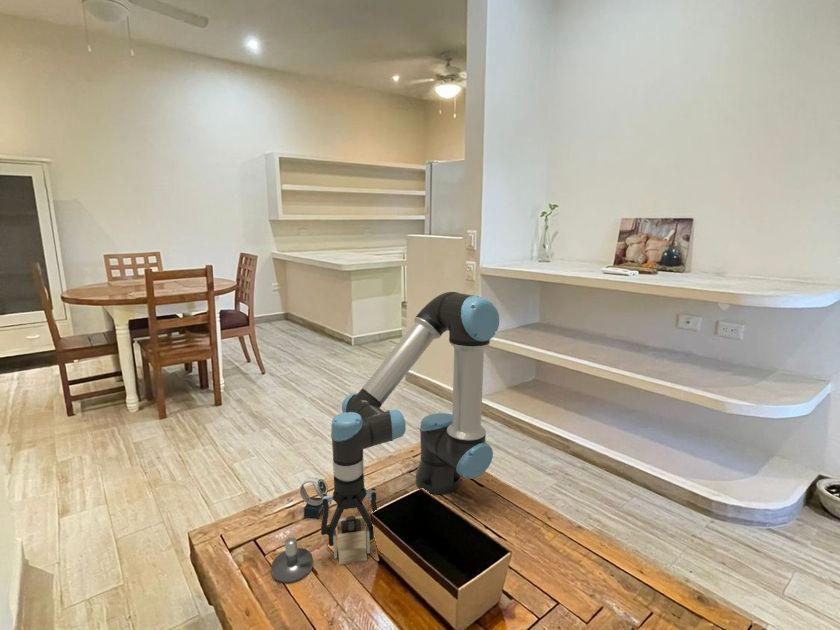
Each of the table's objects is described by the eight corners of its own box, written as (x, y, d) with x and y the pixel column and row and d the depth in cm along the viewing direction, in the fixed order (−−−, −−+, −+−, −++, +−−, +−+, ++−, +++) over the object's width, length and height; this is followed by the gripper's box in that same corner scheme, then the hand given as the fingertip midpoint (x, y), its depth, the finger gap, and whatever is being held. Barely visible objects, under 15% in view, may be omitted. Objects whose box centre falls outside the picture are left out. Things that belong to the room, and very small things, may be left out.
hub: (313, 550, 117) (312, 525, 115) (312, 579, 107) (310, 552, 106) (274, 556, 115) (272, 530, 113) (269, 586, 105) (267, 559, 104)
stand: (358, 546, 118) (357, 513, 116) (359, 556, 115) (358, 522, 113) (345, 548, 117) (343, 515, 115) (345, 558, 114) (343, 524, 112)
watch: (324, 519, 129) (322, 485, 127) (298, 517, 130) (296, 483, 128) (331, 507, 134) (329, 475, 132) (306, 505, 136) (303, 473, 133)
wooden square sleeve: (364, 541, 120) (363, 515, 118) (366, 560, 113) (365, 533, 112) (338, 545, 119) (337, 519, 117) (339, 564, 112) (337, 537, 110)
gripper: (387, 461, 117) (388, 536, 122) (307, 470, 113) (312, 547, 117) (391, 477, 110) (392, 556, 114) (306, 487, 106) (311, 569, 110)
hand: (351, 552), depth 116 cm, fingers open, 8 cm apart
